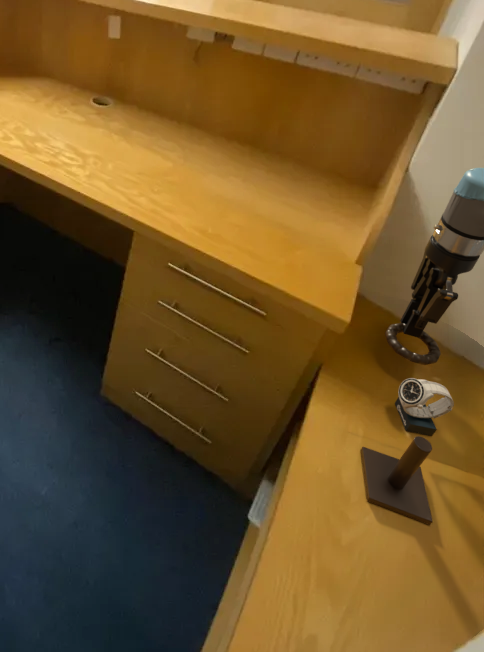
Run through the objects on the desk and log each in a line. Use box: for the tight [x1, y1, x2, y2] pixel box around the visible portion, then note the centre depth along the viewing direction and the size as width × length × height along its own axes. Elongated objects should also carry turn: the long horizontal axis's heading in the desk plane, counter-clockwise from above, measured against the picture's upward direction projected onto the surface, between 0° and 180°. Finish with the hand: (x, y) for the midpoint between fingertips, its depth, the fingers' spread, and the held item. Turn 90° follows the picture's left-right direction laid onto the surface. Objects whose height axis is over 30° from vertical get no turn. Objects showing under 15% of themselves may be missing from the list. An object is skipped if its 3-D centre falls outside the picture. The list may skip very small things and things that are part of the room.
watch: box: [394, 377, 455, 437], centre depth 94 cm, size 6×8×11 cm
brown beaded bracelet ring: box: [384, 322, 442, 366], centre depth 103 cm, size 9×9×2 cm
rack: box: [360, 435, 433, 526], centre depth 84 cm, size 9×9×13 cm
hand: (409, 328), depth 106 cm, fingers closed on brown beaded bracelet ring, 2 cm apart
